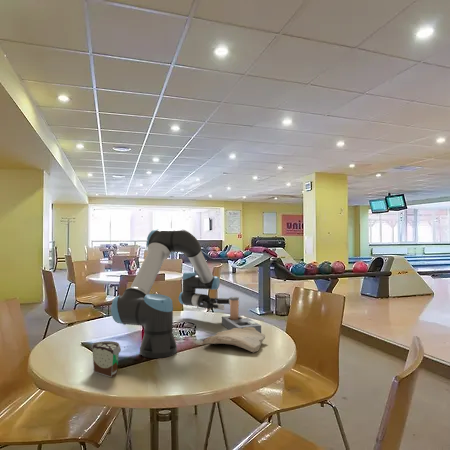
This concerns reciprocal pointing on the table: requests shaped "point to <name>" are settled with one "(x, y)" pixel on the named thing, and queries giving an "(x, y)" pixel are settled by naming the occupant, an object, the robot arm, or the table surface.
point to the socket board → (240, 323)
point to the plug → (234, 308)
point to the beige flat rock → (238, 338)
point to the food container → (106, 357)
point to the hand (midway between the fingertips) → (231, 305)
